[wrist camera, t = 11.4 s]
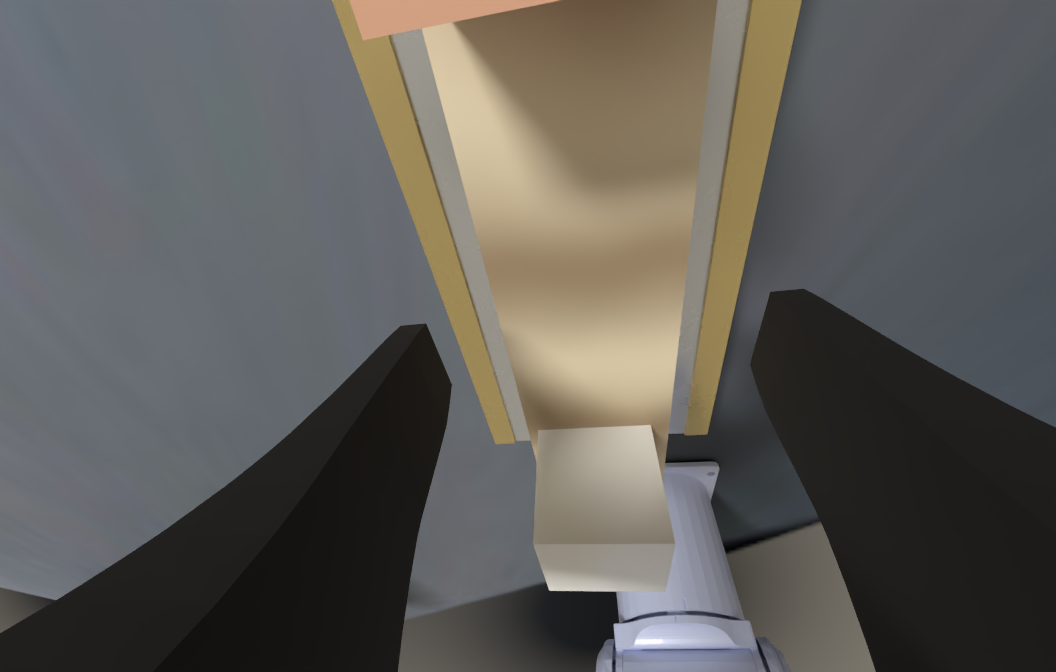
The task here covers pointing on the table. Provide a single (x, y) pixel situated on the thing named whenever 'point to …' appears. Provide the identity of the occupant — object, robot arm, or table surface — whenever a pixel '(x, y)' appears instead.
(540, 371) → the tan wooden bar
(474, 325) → the dock
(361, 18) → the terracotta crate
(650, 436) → the off-white cube block
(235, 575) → the robot arm
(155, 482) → the table surface
